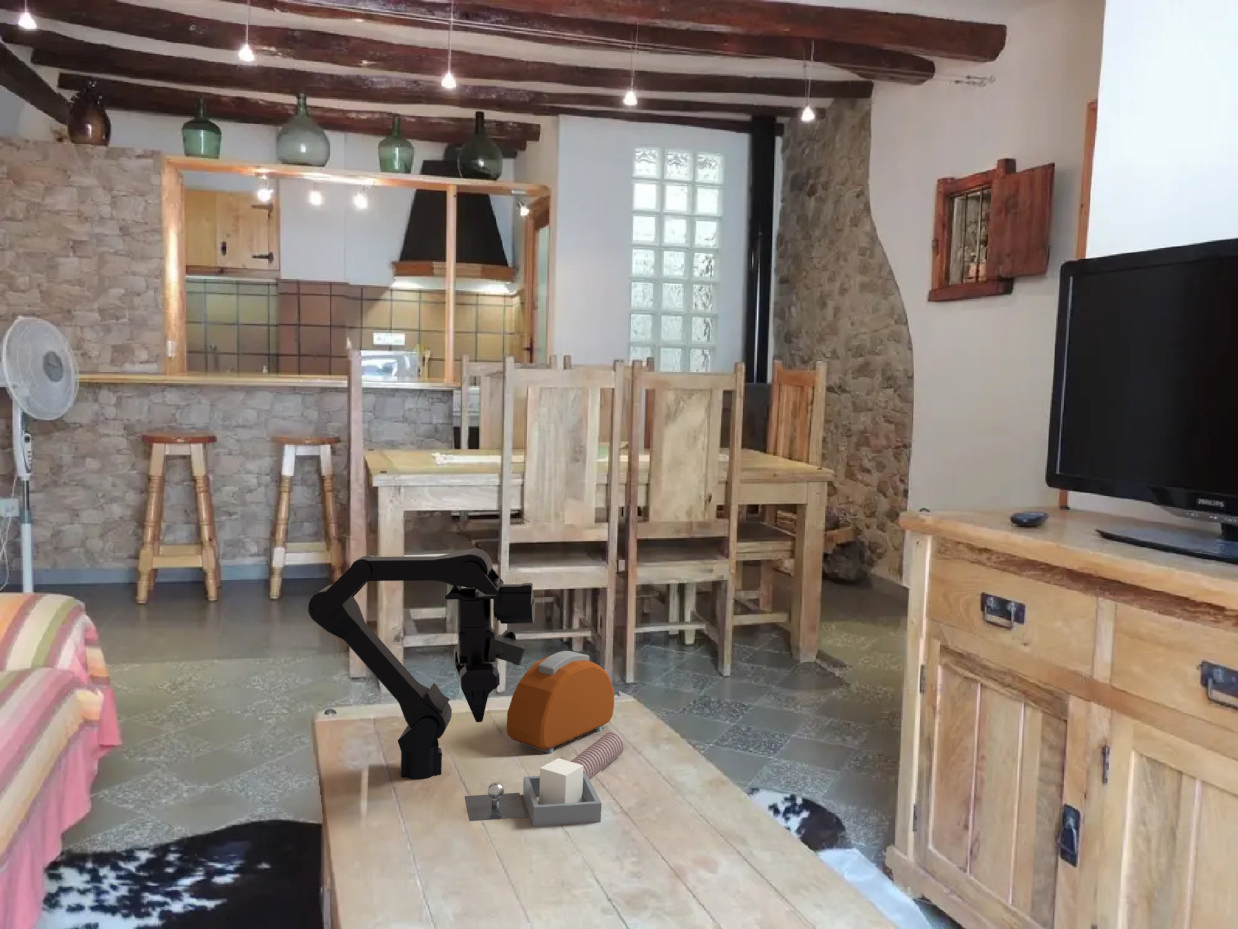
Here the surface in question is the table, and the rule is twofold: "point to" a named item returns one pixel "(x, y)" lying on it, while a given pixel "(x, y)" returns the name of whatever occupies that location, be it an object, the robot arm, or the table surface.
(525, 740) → the orange grey rounded block
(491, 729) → the table surface
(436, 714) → the robot arm
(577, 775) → the cream rectangular block
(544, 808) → the bin
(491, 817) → the stud plate
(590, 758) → the coil
